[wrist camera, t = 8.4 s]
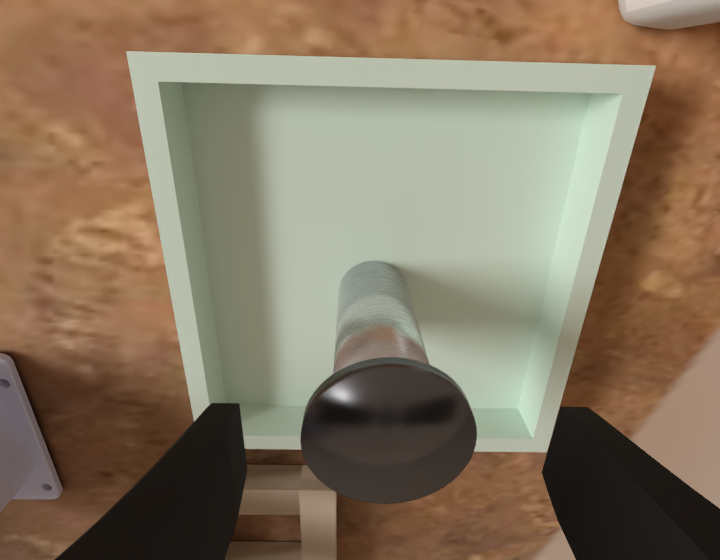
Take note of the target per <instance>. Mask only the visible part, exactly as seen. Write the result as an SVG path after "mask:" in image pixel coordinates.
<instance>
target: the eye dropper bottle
mask: <svg viewBox="0 0 720 560" xmlns="http://www.w3.org/2000/svg"><path fill="white" fill-rule="evenodd" d="M618 4H619V11H620V13H621V15H622V17H623V19H624V20H625V21H627V22H628V23H630V24H632V25H637V26H642V27H650V28H657V29H667V30H673V29H680V28H686V27H692V26H698V25H704V24H710V23H716V22H720V0H618Z"/></svg>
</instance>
